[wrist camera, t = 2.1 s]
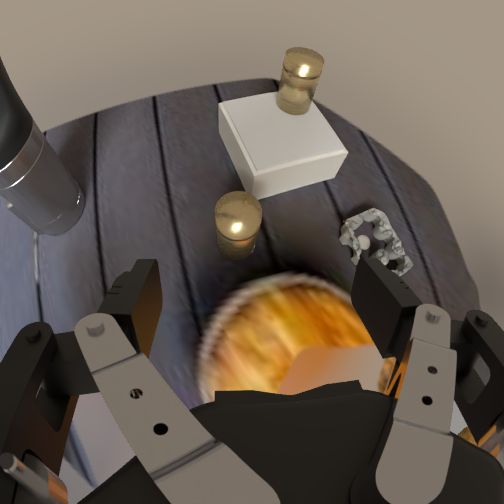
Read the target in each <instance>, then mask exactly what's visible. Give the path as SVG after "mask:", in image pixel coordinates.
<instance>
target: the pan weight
mask: <svg viewBox="0 0 504 504" xmlns="http://www.w3.org/2000/svg"><path fill="white" fill-rule="evenodd" d="M323 64H324V59H323V57H322V56H321V55H320V54H318V53H317V52H315V51H313V50H311V49H307V48H301V47H294V48H290V49H288V50H287V51H286V54H285V59H284V62H283V69H282V75H281V80H280V85H279V90H278V95H277V100H276V104H277V106H278V107H279V109H280V110H282V111H283V112H285V113H287V114H290V115H303V114H305V113H307V112H308V111H309V109H310V105H311V102H312V99H313V96H314V93H315V90H316V87H317V83H318V80H319V77H320V75H321V72H322V67H323Z"/></svg>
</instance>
